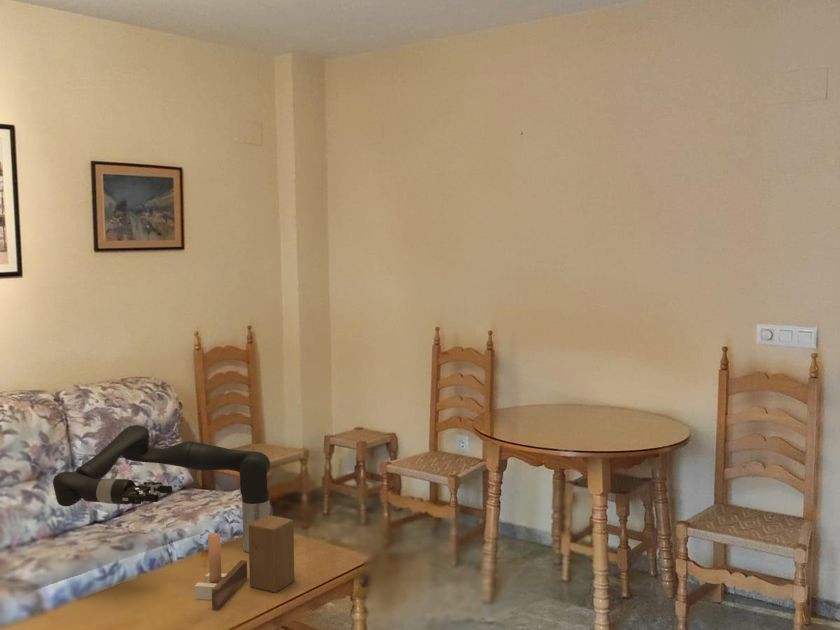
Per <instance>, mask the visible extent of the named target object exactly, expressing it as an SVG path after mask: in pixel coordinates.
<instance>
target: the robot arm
mask: <svg viewBox="0 0 840 630" xmlns="http://www.w3.org/2000/svg"><path fill="white" fill-rule="evenodd" d="M149 444H150V432H149V429H147V427H145V426H143V425H141V424H140V425H139V424H133V425H129V426H127V427H126V428H125V429H123V430H121V431H120V433H118V434H117V436H115V438H113V439H112V440H111V441H110V442H109V443H108V444H107V445H106V446H105V447H104V448H103V449H102V450H101V451H100V452H99V453H97V454H96V455H94V457H92V458H90V459H89V460H88V461H85V463H83V464H82V465H80V466H78V468H76V469H75V471H63V472H60V473H59V472H58V474H56V475H55V476H54V477H53V480H52V486H53V490H54V494H55V499H56V502H57V504H58V505H60V506H61V507H71V506H74V505H75V504H77V503H79V501H81V500H83V501H85V502H89V503H103V504H111V505H130V504H131V505H141V504H142V503H147V502H148V503H149V502H150V503H158V502H159V501H160V495H159V494H172V493H173V486H172V485H163V482H159V481H158V482H156V481H144V482H143V483H139V484H135V483H136V482H134V481H133V480H132V479H126V478H125V479H124V478H104V477H105V476H106V475H107V474H108V473H109V472H110V471H111V470H112V469H113V467H114V465H116V463H117V461H118V459H120V457H122V458H123V459H124V460H128V461H131V462H139V463H150V464H151V463H152V464H161V465H166V466H167V465H169V466H173V467H174V466H175V467H180V468H185V469H188V470H189V469H190V470H194V471H206V472H207V471H209V472H210V471H224V470H225V471H234V472H237V473H239V489H240V496H241V507H242V508H241V510H242V515H241V516H242V549H243V551H244V552H246V553H249V524H251V523H253V522H255V521H257V520H259V519H261V518H263V517H265V516H267V515H270V492H269V489H268V472H269V471H270V469H271V460H270V458H269V457H268V456H267V455H266V454H265V453H263V452H260V451H252V450H237V449H230V448H225V447H222V446H218V445H213V444H207V443H203V442H198V441H192V440H188V441H183V442H179V443H176V444H174V445H172V446H168V447H167V446H166V447H153V446H150V445H149Z"/></svg>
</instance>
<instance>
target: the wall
mask: <svg viewBox="0 0 840 630" xmlns="http://www.w3.org/2000/svg"><path fill="white" fill-rule="evenodd" d="M226 574H227V575H226V576H225V577H224V578H223V579H222V580H221V581H220V582H219V583H218V584H217V585H216V586H215V587H214V588H213V589H212V600H211V606H212V607H211V608H212V609H211V610H215V611H219V610H220V609H222V607H223V606H224V605H225V604H226V603H227V602H228V601H229V599H230V598H231V597H232V596H233V595H234V594H235V593H236V592H237V591H238V590H239V589H240V588H241V586H242V585H243V584H244V583H245V582H246V581H247V580H248V561H247V560H243V559H240V561H238V562H237V564H235V566H233V567H232V569H231V570H229V572H227V573H226ZM238 588H239V589H238ZM237 589H238V590H237ZM236 590H237V591H236ZM235 591H236V592H235Z"/></svg>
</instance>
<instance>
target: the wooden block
mask: <svg viewBox="0 0 840 630" xmlns="http://www.w3.org/2000/svg"><path fill="white" fill-rule="evenodd" d="M294 533H295V531H294V519H290V518H285V517H281V516H275V515H272V514H271V515H267V516H265V517H263V518H261V519H259V520H257V521H255V522H253V523H251V524H249V552H248V554H249V556H248V558H249V559H248V560H249V563H248V564H249V587H251V588H254V589H258V590H262V591H266V592H271V593H277V592H279V591H280V590H282V589H284V588H286V587H287V586H289V585H290V584H292V583H294V582H295V542H294V541H295V538H294V535H295V534H294Z"/></svg>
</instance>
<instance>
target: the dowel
mask: <svg viewBox="0 0 840 630" xmlns="http://www.w3.org/2000/svg"><path fill="white" fill-rule="evenodd" d="M207 541H208V542H207V543H208V569H209V570H208V572H209V577H210V583H216V584H218V583H219V582H220V581H221V580H222V579H221V573H222V563H221V562H222V558H221V557H222V555H221V534H220V533H219V532H211V533H208V535H207Z"/></svg>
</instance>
